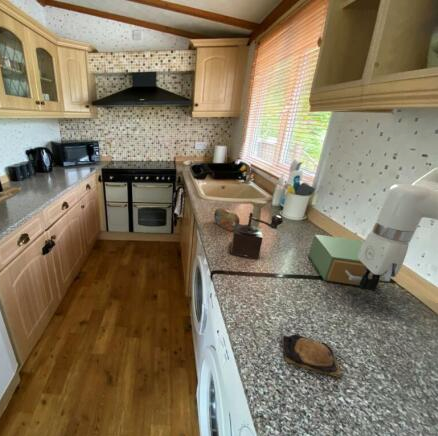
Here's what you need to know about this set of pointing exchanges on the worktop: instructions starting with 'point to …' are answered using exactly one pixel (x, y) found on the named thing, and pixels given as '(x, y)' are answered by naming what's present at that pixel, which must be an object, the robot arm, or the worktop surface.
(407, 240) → the robot arm
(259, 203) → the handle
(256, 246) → the manual coffee grinder
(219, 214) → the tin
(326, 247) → the cabinet
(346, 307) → the worktop surface
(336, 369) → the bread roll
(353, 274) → the drawer
